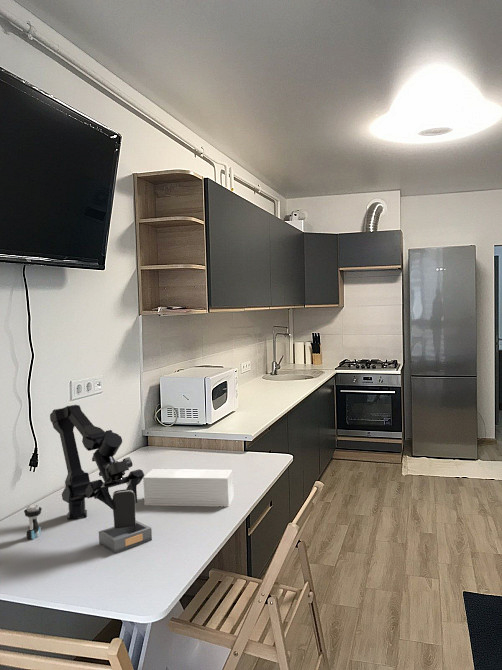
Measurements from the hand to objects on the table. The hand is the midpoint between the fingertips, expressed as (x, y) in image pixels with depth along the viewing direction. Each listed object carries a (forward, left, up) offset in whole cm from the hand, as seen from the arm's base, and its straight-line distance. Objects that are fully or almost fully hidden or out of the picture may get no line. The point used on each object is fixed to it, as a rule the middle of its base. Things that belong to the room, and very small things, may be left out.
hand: (125, 506), depth 178 cm
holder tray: (-1, -1, -12) cm, 12 cm away
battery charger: (-1, -1, -7) cm, 7 cm away
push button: (-17, -29, -12) cm, 35 cm away
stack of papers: (-31, +25, -12) cm, 42 cm away
